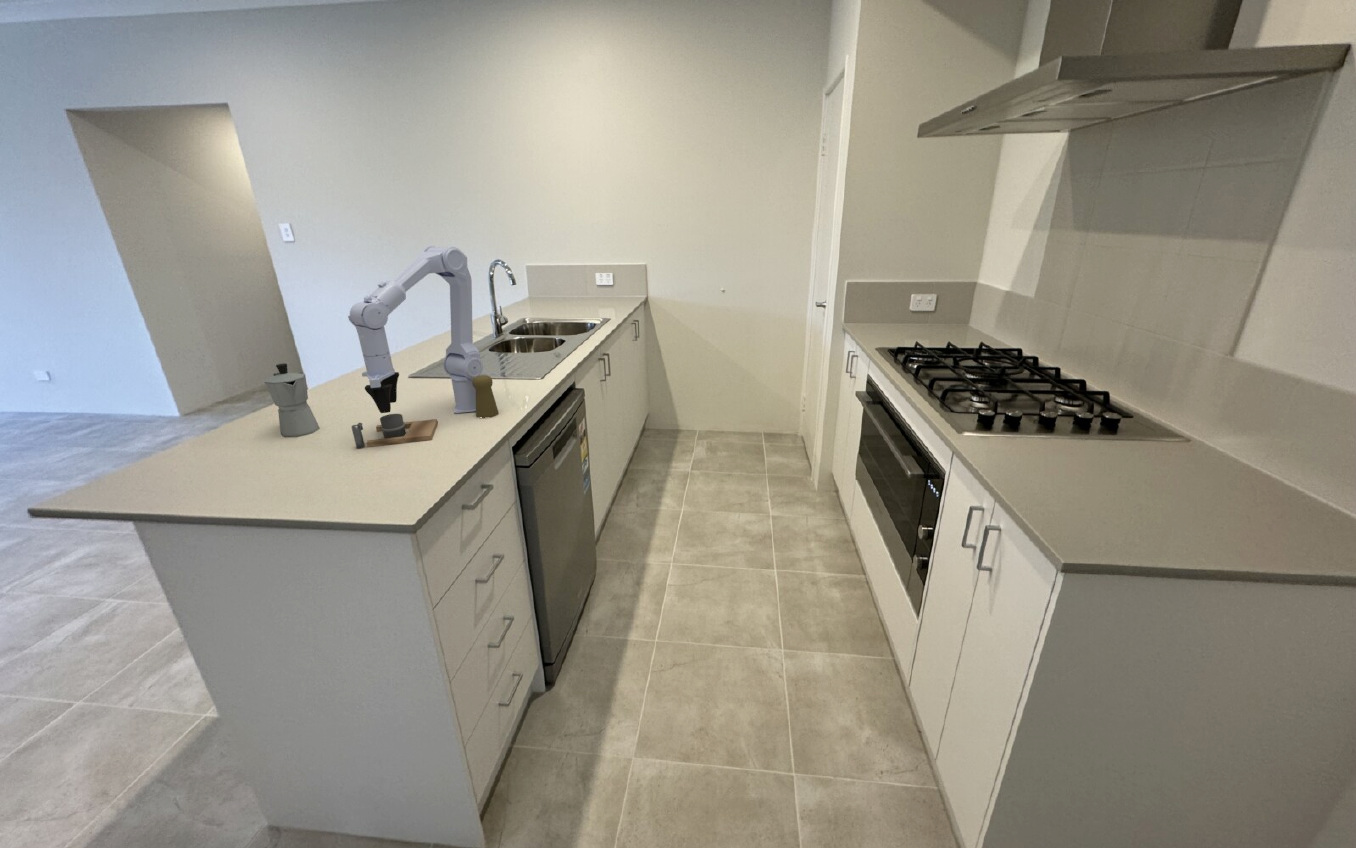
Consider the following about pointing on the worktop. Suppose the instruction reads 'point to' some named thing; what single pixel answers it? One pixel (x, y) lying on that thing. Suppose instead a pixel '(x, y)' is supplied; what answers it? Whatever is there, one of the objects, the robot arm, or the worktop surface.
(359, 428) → the hook
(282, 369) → the coffee maker
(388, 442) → the brown wooden u-shaped bracket
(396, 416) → the grey flanged cylinder
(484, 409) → the olive pawn
